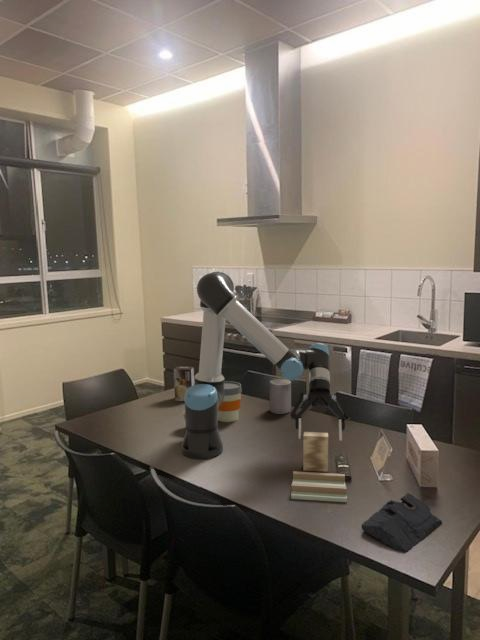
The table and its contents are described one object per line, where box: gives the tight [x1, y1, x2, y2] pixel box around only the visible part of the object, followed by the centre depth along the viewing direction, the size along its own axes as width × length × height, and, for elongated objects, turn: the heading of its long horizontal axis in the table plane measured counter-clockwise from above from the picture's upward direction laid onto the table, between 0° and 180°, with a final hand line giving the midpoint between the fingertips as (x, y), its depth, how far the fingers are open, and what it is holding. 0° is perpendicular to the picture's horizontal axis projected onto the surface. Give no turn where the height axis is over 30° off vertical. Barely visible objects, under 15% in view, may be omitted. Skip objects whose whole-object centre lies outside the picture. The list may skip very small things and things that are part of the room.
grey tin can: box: [269, 378, 292, 415], centre depth 221 cm, size 10×10×15 cm
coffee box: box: [173, 365, 195, 402], centre depth 240 cm, size 9×6×16 cm
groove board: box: [290, 470, 348, 503], centre depth 148 cm, size 16×14×3 cm
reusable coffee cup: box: [217, 380, 243, 423], centre depth 211 cm, size 13×13×15 cm
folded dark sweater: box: [361, 492, 443, 553], centre depth 128 cm, size 15×22×5 cm
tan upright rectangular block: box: [302, 431, 329, 473], centre depth 162 cm, size 8×4×12 cm, turn 81°
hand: (320, 438), depth 164 cm, fingers open, 13 cm apart
